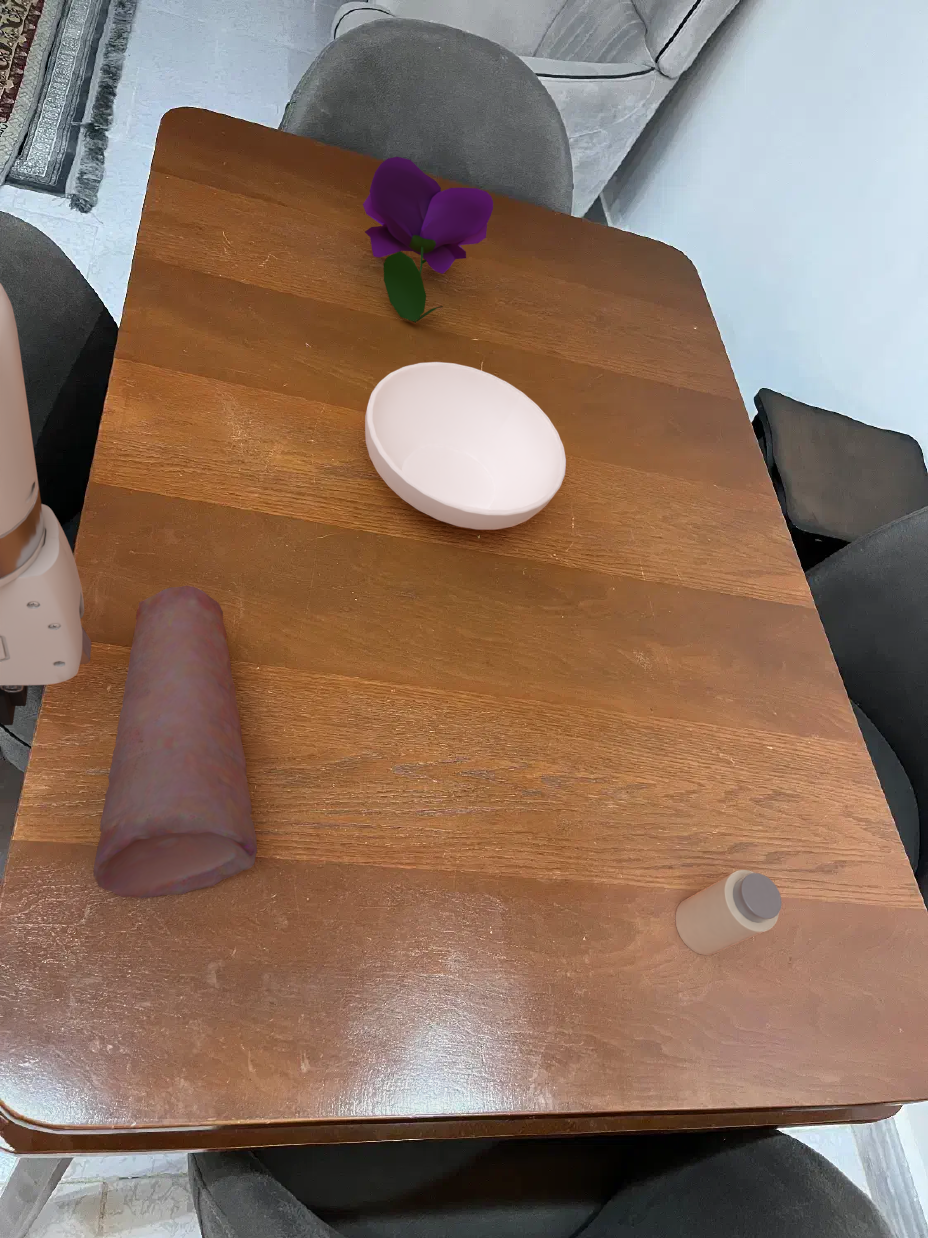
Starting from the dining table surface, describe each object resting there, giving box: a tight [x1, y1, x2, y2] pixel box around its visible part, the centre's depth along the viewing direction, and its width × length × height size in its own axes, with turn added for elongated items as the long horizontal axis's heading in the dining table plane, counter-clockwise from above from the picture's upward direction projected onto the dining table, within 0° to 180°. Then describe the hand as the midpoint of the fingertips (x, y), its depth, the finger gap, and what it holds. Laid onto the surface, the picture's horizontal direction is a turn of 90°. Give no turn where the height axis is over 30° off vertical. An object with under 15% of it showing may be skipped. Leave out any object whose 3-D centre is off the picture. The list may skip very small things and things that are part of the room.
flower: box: [362, 156, 494, 324], centre depth 95 cm, size 15×15×14 cm
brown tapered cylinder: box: [93, 585, 258, 899], centre depth 56 cm, size 21×9×9 cm, turn 14°
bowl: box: [364, 361, 567, 531], centre depth 81 cm, size 20×20×7 cm
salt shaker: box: [674, 869, 783, 956], centre depth 62 cm, size 4×4×8 cm
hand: (1, 703), depth 52 cm, fingers closed
